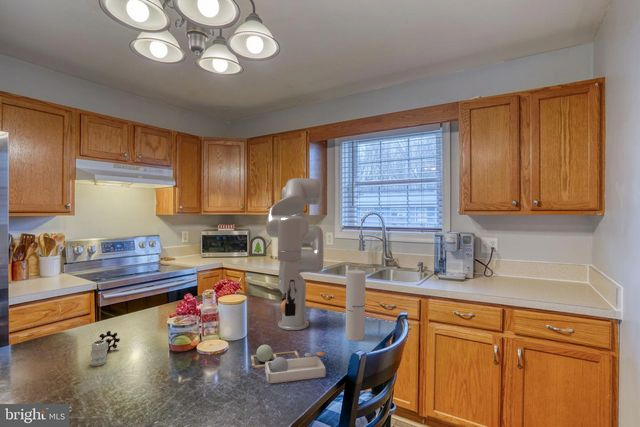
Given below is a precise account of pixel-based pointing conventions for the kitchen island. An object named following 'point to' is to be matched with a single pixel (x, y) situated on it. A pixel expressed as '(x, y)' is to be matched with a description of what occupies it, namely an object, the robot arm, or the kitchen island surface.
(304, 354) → the card
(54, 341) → the kitchen island surface
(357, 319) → the cylindrical container
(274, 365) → the ball slate
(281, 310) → the ball terracotta
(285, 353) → the tray
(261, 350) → the ball sage
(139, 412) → the kitchen island surface
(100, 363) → the valve
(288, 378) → the trough
